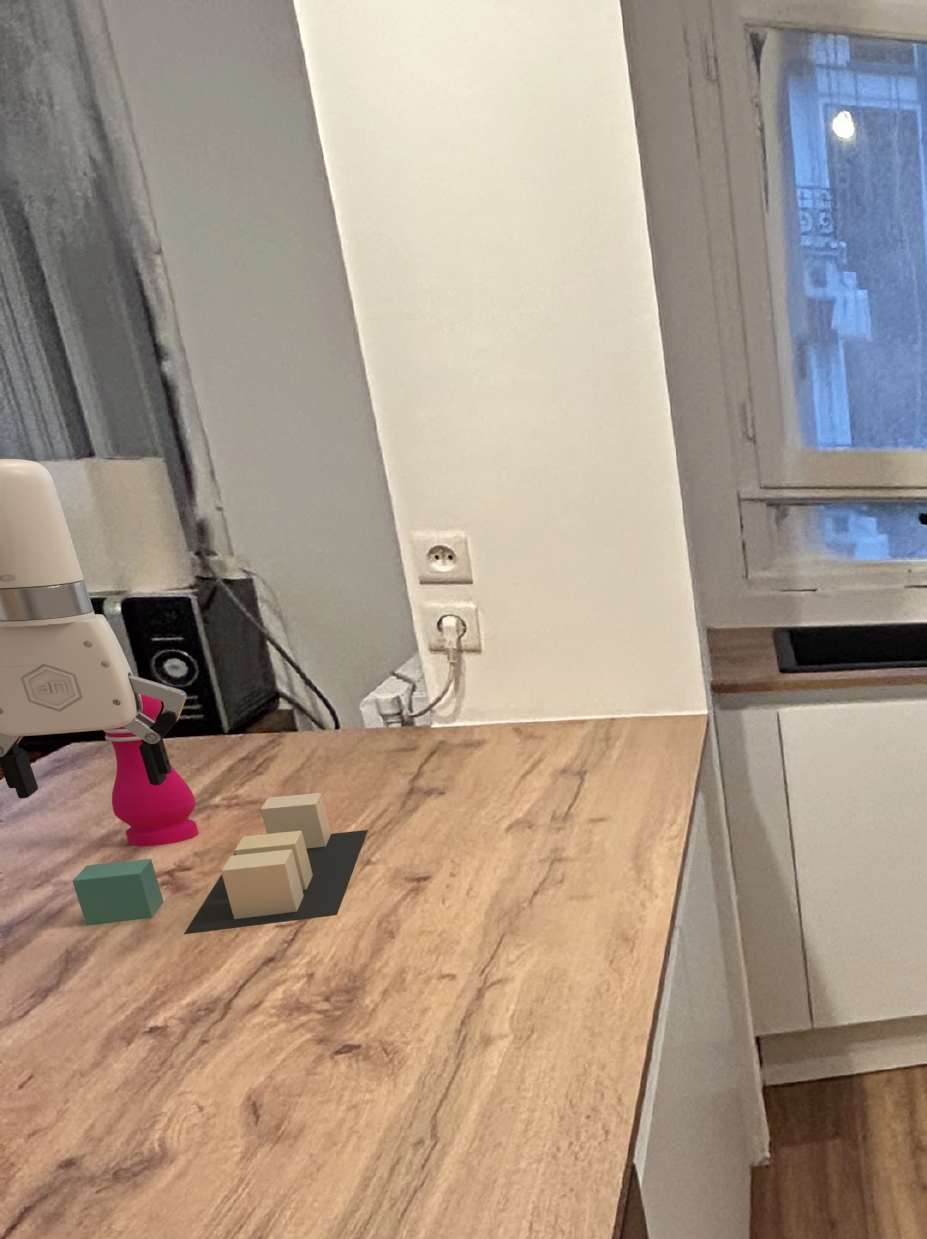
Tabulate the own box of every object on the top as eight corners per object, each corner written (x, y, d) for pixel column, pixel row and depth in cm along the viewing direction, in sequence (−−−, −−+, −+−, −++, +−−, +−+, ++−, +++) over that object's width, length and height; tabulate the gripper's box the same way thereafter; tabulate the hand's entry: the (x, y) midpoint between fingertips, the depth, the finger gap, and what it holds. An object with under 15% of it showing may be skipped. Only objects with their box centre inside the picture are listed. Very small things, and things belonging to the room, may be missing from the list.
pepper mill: (166, 830, 158) (117, 658, 151) (221, 833, 157) (174, 661, 150) (106, 849, 151) (52, 670, 144) (164, 852, 150) (112, 673, 143)
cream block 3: (234, 919, 130) (220, 870, 128) (243, 903, 134) (230, 855, 133) (297, 911, 132) (284, 863, 131) (304, 896, 137) (292, 849, 135)
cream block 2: (246, 897, 136) (234, 850, 134) (254, 882, 140) (242, 836, 138) (306, 890, 138) (295, 843, 137) (313, 875, 142) (301, 830, 141)
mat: (184, 938, 127) (183, 933, 127) (242, 847, 152) (241, 842, 152) (338, 919, 132) (336, 914, 132) (368, 833, 158) (367, 829, 158)
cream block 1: (271, 852, 149) (260, 808, 147) (278, 840, 153) (267, 797, 152) (325, 846, 151) (315, 803, 150) (331, 834, 156) (321, 792, 154)
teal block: (87, 930, 128) (71, 880, 127) (101, 913, 132) (86, 865, 131) (153, 922, 131) (139, 873, 129) (165, 905, 135) (151, 858, 133)
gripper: (-110, 616, 114) (-40, 810, 120) (147, 604, 122) (201, 787, 128) (-77, 604, 120) (-12, 789, 127) (166, 593, 128) (216, 768, 134)
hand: (95, 788), depth 127 cm, fingers open, 9 cm apart
